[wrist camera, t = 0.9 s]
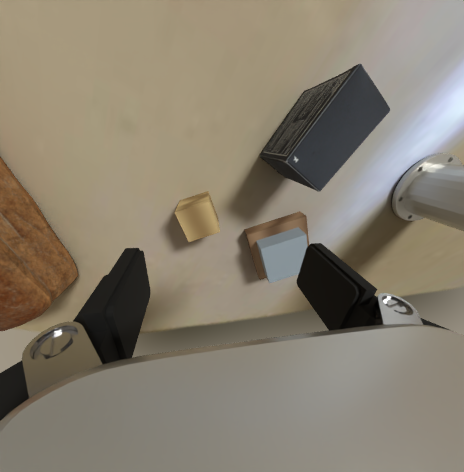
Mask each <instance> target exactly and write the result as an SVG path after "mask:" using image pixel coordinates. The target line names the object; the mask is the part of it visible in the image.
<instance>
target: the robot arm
mask: <svg viewBox="0 0 464 472" xmlns="http://www.w3.org/2000/svg"><path fill="white" fill-rule="evenodd" d="M392 208H393V211H394V213H395V214H396V215H397V216H398V217H400V218H402V219H404V220H408V221H415V220H420V219H423V218H427V219H430V220H433V221H436V222H438V223H441V224H444V225H447V226H450V227H453V228H456V229H459V230H462V231H464V165H462V163H461V161H460V160H459V158H458V157H456V156H455V155H452V154H444V153H440V154H434V155H431V156H428V157H426V158H424V159H422V160H421V161H419V162H418V163H416V164H415V165H414V166H413V167H411V168H410V169H409V170H408V171H407V172H406V174H405V175H404V176H403V177H402V179H401V180H400V181H399V183H398V185H397V187H396V189H395V191H394V194H393V199H392ZM297 285H298V287H299V288H300V290H301V291H302V293H303V294H304V295H305V297H306V298H307V300H308V301H309V302H310V304H311V305H312V307H313V308H314V310H315V311H316V312H317V314H318V315H319V317H320V318H321V319H322V321H323V322H324V324H325V325H326V327H327V328H328V329H329V331H323V332H314V333H307V334H299V335H290V336H282V337H274V338H267V339H259V340H251V341H244V342H236V343H229V344H222V345H214V346H207V347H199V348H192V349H185V350H178V351H171V352H165V353H158V354H152V355H144V356H139V357H135V358H132V355H133V352H134V349H135V345H136V342H137V338H138V335H139V332H140V328H141V325H142V322H143V318H144V315H145V312H146V308H147V305H148V302H149V298H150V286H149V280H148V274H147V268H146V263H145V257H144V252H143V251H140V250H139V248H126V249H125V250H124V252H123V253H122V255H121V256H120V258H119V259H118V261H117V262H116V264H115V265H114V267H113V268H112V270H111V271H110V273H109V274H108V275H106V276H104V277H103V278H102V280H101V281H100V283H99V284H98V286H97V287H96V289H95V290H94V292H93V293H92V294H91V296H90V297H89V299H88V300H87V302H86V303H85V305H84V306H83V308H82V309H81V311H80V312H79V313H78V315H77V316H76V318H75V319H74V321H73V322H64V323H60V324H57V325H55V326H52V327H50V328H48V329H47V330H45V331H43V332H41V333H40V334H39V335H38V336H36V337H35V338H34V339H33V340H32V341H31V342H30V343H29V344H28V345H27V346H26V348H25V350H24V352H23V355H22V361H21V362H19V363H17V364H15V365H13V366H12V367H10V368H8V369H7V370H5V371H3V372H2V373H0V472H464V335H462V334H459V333H457V332H454V331H451V330H449V329H446V328H444V327H441V326H439V325H436V324H434V323H431V322H429V321H426V320H424V319H422V318H420V316H419V314H418V312H417V311H416V309H415V308H414V307H413V306H412V305H411V304H410V303H408V302H407V301H405V300H403V299H402V298H400V297H397V296H395V295H392V294H387V293H382V294H379V295H378V297H376V296H375V295H374V294H375V292H376V291H377V289H376V288H375V287H374V286H373V285H371V284H370V283H369V282H368V281H366V280H365V279H364V278H363V277H362V276H360V275H359V274H358V273H357V272H355V271H354V270H353V269H352V268H351V267H349V266H348V265H347V264H346V263H344V262H343V261H342V260H341V259H340V258H338V257H337V256H336V255H335V254H333V253H332V252H331V251H330V250H328V249H327V248H326V247H325V246H324V245H322V244H321V243H315V244H310V245H309V246H308V247H307V248H306V252H305V255H304V258H303V262H302V265H301V268H300V272H299V275H298V278H297Z"/></svg>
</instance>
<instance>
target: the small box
mask: <svg viewBox="0 0 464 472" xmlns="http://www.w3.org/2000/svg"><path fill="white" fill-rule="evenodd" d="M389 111H390V108H389V106H388V104H387V103H386V101H385V100H384V98H383V97H382V95H381V94H380V92H379V90H378V89H377V87H376V86H375V85H374V83H373V81H372V80H371V78H370V77H369V75H368V74H367V72H366V71H365V69H364V68H363V66H362V65H361V64H358V65H356V66H354V67H353V68H351V69H349V70H348V71H346V72H344V73H342V74H340V75H338V76H336V77H334V78H332V79H330V80H328V81H325V82H323V83H321V84H319V85H317V86H315V87H313V88H311V89H308V90H306V91H304V92H303V94H302V95H301V97H300V98H299V99H298V101H297V102H296V104H295V105H294V106H293V108H292V109H291V111H290V112H289V113H288V115H287V116H286V118H285V119H284V121H283V122H282V123H281V125H280V126H279V128H278V129H277V130H276V132H275V133H274V135H273V136H272V138H271V139H270V141H269V142H268V143H267V145H266V146H265V148H264V149H263V151H262V152H261V154H260V158H262V159H263V160H265V161H266V162H267V163H268V164H270V165H271V166H272V167H273V168H274V169H276V170H277V171H278V172H279V173H280V174H281V175H283V176H284V177H286V178H289V179H291V180H293V181H296V182H298V183H300V184H303V185H305V186H307V187H310V188H312V189H314V190H317V191H319V192H320V191H321V190H322V188H323V187H324V186H325V185H326V184H327V183H328V182H329V180H330V179H331V178H332V177H333V176H334V175H335V173H336V172H337V171H338V170H339V169H340V168H341V166H342V165H343V164H344V163H345V162H346V161H347V160H348V158H349V157H350V156H351V155H352V154H353V153H354V152H355V150H356V149H357V148H358V147H359V146H360V145H361V143H362V142H363V141H364V140H365V139H366V138H367V137H368V135H369V134H370V133H371V132H372V131H373V130H374V129H375V127H376V126H377V125H378V124H379V123H380V122H381V121H382V119H383V118H384V117H385V116H386V115H387V114H388V113H389Z"/></svg>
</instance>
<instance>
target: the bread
mask: <svg viewBox="0 0 464 472" xmlns="http://www.w3.org/2000/svg"><path fill="white" fill-rule="evenodd" d="M77 276H78V273H77V269H76V266H75V264H74V261H73V260H72V258H71V256H70V255H69V253H68V251H67V250H66V248H65V247H64V246H63V245H62V243H61V242H60V241H59V239H58V238H57V236H56V235H55V233H54V232H53V230H52V229H51V227H50V226H49V224H48V223H47V221H46V220H45V218H44V216H43V215H42V213H41V211H40V210H39V208H38V206H37V205H36V203H35V202H34V200H33V199H32V198H31V196H30V195H29V194H28V193H27V191H26V190H25V189H24V188H23V187H22V185H21V184H20V183H19V182H18V180H17V179H16V178H15V176H14V175H13V174H12V172H11V171H10V170H9V168H8V167H7V166H6V164H5V163H4V161H3V160H2V159H1V157H0V331H5V330H8V329H11V328H14V327H17V326H20V325H22V324H24V323H27V322H29V321H31V320H33V319H35V318H37V317H39V316H41V315H42V314H43V313H44V312H45V311H46V310H47V309H48V307H49V306H50V305H51V303H52V301H53V300H55V299H56V298H57V297H58V296H59V295H60V294H61V293H62V292H63V291H64V290H65V289H66V288H67V287H68V286H69V285H70V284H71V283H72V282H73V281H74V280H75V278H76V277H77Z"/></svg>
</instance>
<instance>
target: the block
mask: <svg viewBox="0 0 464 472" xmlns="http://www.w3.org/2000/svg"><path fill="white" fill-rule="evenodd" d="M175 214H176V217H177V219H178V221H179V223H180V225H181V227H182V229H183V231H184V233H185V235H186V237H187V239H188V241H189V242H191V241H194V240H197V239H200V238H203V237H206V236H209V235H213V234H216V233H219V232H220V228H219V222H218V217H217V214H216V211H215V208H214V206H213V203H212V200H211V197H210V195H209V192H208V191H207V192H204V193H201V194H198V195H195V196H192V197H189V198H186V199H183V200H180V202H179V204H178V206H177V209H176V211H175Z"/></svg>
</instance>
